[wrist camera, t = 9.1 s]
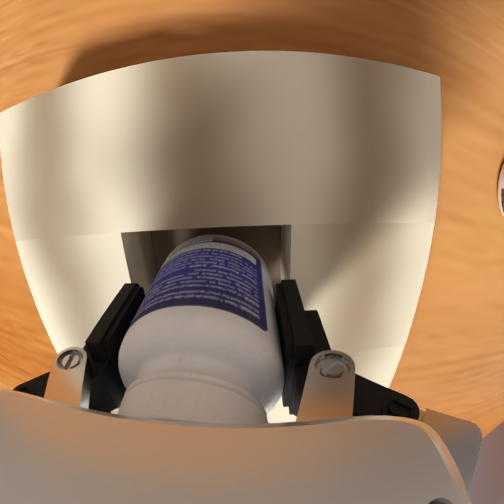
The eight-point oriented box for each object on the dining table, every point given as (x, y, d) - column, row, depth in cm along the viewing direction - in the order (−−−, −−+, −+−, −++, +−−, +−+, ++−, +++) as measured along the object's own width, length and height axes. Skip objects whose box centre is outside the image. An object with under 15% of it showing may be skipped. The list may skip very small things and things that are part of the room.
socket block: (393, 86, 13) (439, 76, 8) (359, 371, 20) (376, 414, 16) (48, 112, 13) (-2, 113, 8) (111, 374, 20) (93, 415, 16)
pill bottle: (141, 264, 13) (49, 412, 5) (235, 210, 12) (216, 364, 4) (201, 342, 15) (176, 496, 7) (290, 303, 14) (326, 471, 6)
